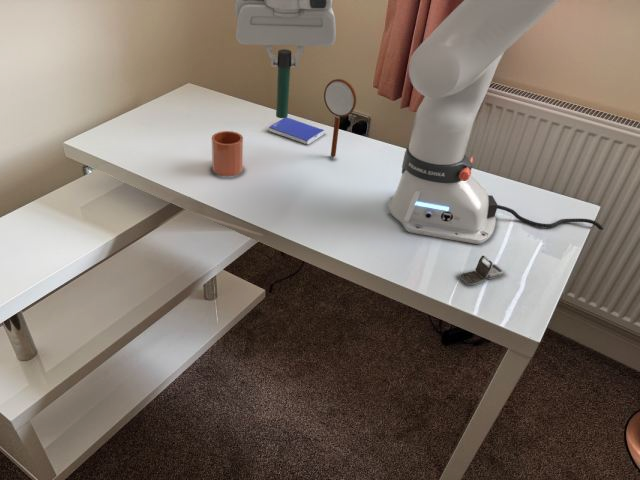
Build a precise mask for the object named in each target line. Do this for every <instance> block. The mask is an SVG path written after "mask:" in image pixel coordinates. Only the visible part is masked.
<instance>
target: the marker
mask: <svg viewBox="0 0 640 480" xmlns="http://www.w3.org/2000/svg"><path fill="white" fill-rule="evenodd" d="M277 56H278V67H277V81H276V102H275V103H276V105H275V107H276V108H275V117H276V118H278V119H283V118H286V117H287V118H288V116H289V99H290V81H291V80H290V79H291V78H290V77H291V68H292V67H291V56H292V50H290V49H286V48H284V49H279V50H278V51H277Z"/></svg>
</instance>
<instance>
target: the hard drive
mask: <svg viewBox="0 0 640 480" xmlns="http://www.w3.org/2000/svg"><path fill="white" fill-rule="evenodd" d="M268 132H270V133H273V134H276V135H278V136H281V137H284V138H287V139H290V140H294V141H297V142H299V143H301V144H305V145H310V144H311V143H313V142H314V141H316V140H317V139H319V138H321V137H322V136H323V135H324V134H325V129H323V128H319V127H317V126H313V125H311V124H308V123H305V122H302V121H299V120H296V119H292V118H290V117H288V116H287V117H286V118H281V119H280V120H278V121H276V122H275V123H272V124H271V125H269V126H268Z"/></svg>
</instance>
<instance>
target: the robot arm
mask: <svg viewBox="0 0 640 480" xmlns="http://www.w3.org/2000/svg"><path fill="white" fill-rule="evenodd" d="M333 1H334V0H235V1H234V14H235V16H236V17H237V24H236V33H235V34H236V35H235V39H236V41H237V42H238V44H240V45H252V46H253V45H255V46H265V51H266V53H267V55H268V56H269V59H270V67H272V68H273V67H275V68H278V55H275V54H274V52H273V49H274V46H289V47H290V46H291V47H296V53H295V55H294V56H293V55H291V67H290V68H298V65H299V60H300V58H301V57H302V55H303V53H304V52H305V47H326V48H330V47H332V46H333V45H335V42H336V35H337V33H336V31H337V29H336V27H337V26H336V17H335V13H334V9H333V6H332V5H333ZM558 2H560V0H463V1H461V3H460V4H458V5H457V6H456V7H455V8H454V9H453V10H452V11H451V12H450V14H449V15H447V17H446V18H444V20H443V21H442V22H441V23H440V24H439V25H438V26H437V27H436V28H435V29H434V30H433V31H432V32H431V33H430V34H429V35H428V36H427V37H426V38H425V39H424V40H423V41H422V42H421V43H420V44H419V46H418V47H417V48H416V49H415V50H414V51H413V53H412V55H411V57H410V59H409V62H408V77H409V81H410V83H411V85H412V86H413V88H414V90H416V91H417V92H418V93H419V94H420V95H422V96H424V97H423V99H422V101H421V102H420V104H419V106H418V107H417V109H416V112H415V116H414V121H413V125H412V129H411V135H410V140H409V144H408V146H407V148H405V151H404V154H403V160H402V165H401V176H400V179H399V182H398V184H397V188H396V190H395V191H394V194H393V196H392V198H391V199H390V201H389V204H388V210H389V212H390V214H391V215H392V216H393V218H395V219H396V220H397V221H398V222H399V223H401V224H402V226H403V228H404V230H405V231H406V232H408V233H411V234H417V235H423V236H427V237H428V236H429V237H433V238H434V237H435V238H441V239H447V240H451V241H457V242H464V243H469V244H475V245H480V244H483V243H485V242H486V241H488V240H489V239H490V238H491V236H492V235H493V233H494V231H495V227H496V222H497V221H496V220H497V219H496V213H497V211H498V210H501V211H505V212H508V213H510V214H512V215H513V216H514V217H515V218H516V219H517V220H519V221H521V222H523V223H526V224H527V225H530V226H534V227H539V228H555V227H557V226H559V225H561V224H564V223H586V224H591V225H593V226H595V227H596V228H597V229H598V230H601V231H603V230H604V227H603V226H602V225H601V224H600V223H599V222H598V221H596V220H594V219H589V218H562V219H559V220H557V221H555V222H552V223H542V222H538V221H537V222H536V221H533V220H530V219H528V218H525V217H523V216H521V215H520V214H519V213H518V212H516V210H514V209H513V208H510V207H507V206H503V205H500V204H498V202H497V201H496V199H495V197H494V196H493V195H491V194H488V192H487V190H486V189H485V188H484V187H483V186H482V185H481V184H480V183H479V182H478V181H477V180H476V178H475V177H473V176H472V168H473V161H474V157H473V156H471V158H470V159H469V157H468V156H467V155H466V150H467V147H468V143H469V140H470V137H471V133H472V130H473V126H474V123H475V120H476V118H477V115H478V113H479V110H480V108H481V106H482V103H483V101H484V99H485V98H486V95H487V93H488V90H489V88H490V85H491V83H492V80H493V78H494V76H495V72H496V70H497V69H498V68H497V67H498V66H499V64H500V61H501V60H502V58H503V56H504V54H505V52H506V51H507V50H508V49H509V48H510V47H512V45H513V44H515V43H516V42H517V41H518V40H519V39H520V38H522V36H524V34H526V33H527V32H528V31H529V30H531V29H532V28H533V27H534V26H535V25H536V24H537V23H538V22H539V21H540V20H541V19H542V18H543V17H544V16H545V15H546V14H547V13H548V12H549V11H551V9H552V8H553V7H554V6H555V5H556V4H557V3H558Z"/></svg>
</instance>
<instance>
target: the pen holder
mask: <svg viewBox="0 0 640 480" xmlns="http://www.w3.org/2000/svg"><path fill="white" fill-rule="evenodd" d="M211 167H212V168H211V169H212V171H213V172H214V174H216V175H218V176H221V177H234V176H237V175H239V174H241V173H242V172H243V170H244V137H243V135H242V134H241V133H239V132H236V131H232V130H224V131H218V132H216V133H214V134H213V135H211Z"/></svg>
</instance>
